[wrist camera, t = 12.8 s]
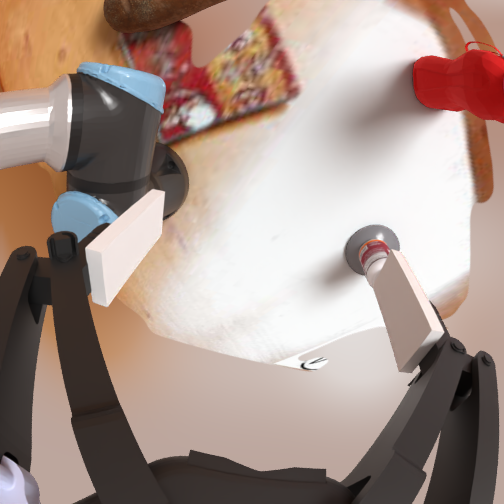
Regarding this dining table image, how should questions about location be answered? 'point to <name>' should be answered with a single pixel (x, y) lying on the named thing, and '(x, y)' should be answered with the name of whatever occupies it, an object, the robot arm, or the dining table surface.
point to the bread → (150, 13)
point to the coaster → (366, 235)
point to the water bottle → (462, 83)
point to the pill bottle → (373, 258)
